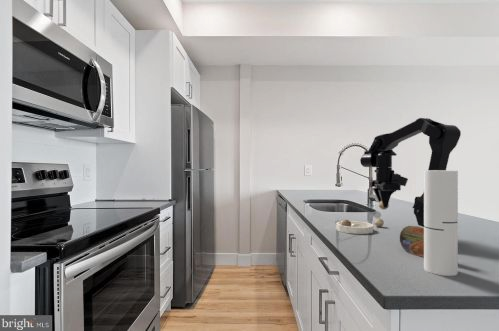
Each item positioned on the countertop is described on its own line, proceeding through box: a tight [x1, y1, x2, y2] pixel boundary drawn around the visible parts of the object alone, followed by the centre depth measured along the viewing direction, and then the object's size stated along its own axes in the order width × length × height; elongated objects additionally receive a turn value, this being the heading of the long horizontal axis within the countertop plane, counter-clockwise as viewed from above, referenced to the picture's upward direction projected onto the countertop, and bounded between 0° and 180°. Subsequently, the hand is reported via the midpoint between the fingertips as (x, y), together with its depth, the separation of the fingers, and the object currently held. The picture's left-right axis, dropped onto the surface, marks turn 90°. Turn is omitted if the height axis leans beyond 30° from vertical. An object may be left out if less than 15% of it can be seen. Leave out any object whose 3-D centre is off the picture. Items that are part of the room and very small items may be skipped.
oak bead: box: [378, 201, 390, 210], centre depth 121 cm, size 4×4×4 cm
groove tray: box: [335, 220, 374, 235], centre depth 123 cm, size 14×14×2 cm
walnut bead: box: [342, 219, 351, 227], centre depth 122 cm, size 4×4×4 cm
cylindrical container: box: [423, 169, 459, 277], centre depth 76 cm, size 7×7×25 cm
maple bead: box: [374, 217, 385, 228], centre depth 130 cm, size 4×4×4 cm
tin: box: [399, 225, 424, 259], centre depth 88 cm, size 15×3×8 cm, turn 25°
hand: (383, 206), depth 121 cm, fingers closed on oak bead, 4 cm apart
